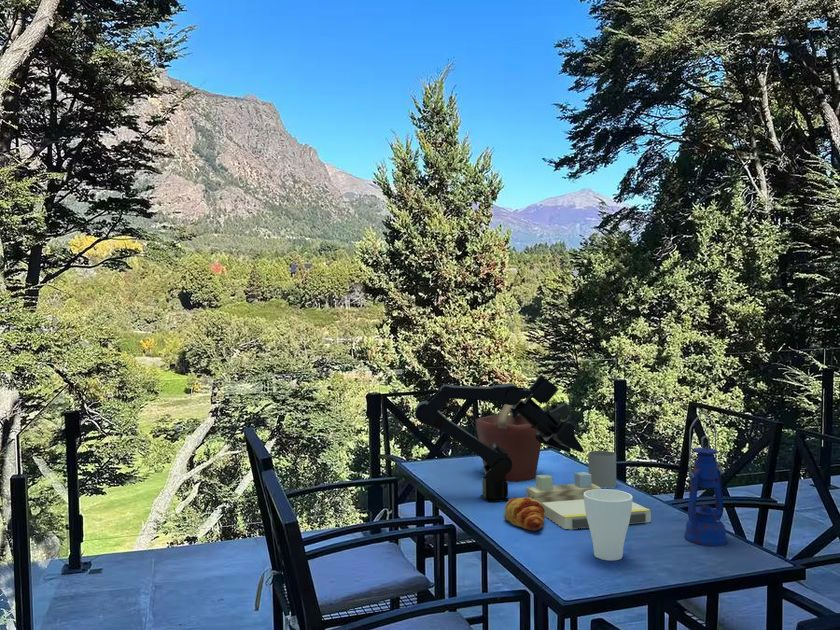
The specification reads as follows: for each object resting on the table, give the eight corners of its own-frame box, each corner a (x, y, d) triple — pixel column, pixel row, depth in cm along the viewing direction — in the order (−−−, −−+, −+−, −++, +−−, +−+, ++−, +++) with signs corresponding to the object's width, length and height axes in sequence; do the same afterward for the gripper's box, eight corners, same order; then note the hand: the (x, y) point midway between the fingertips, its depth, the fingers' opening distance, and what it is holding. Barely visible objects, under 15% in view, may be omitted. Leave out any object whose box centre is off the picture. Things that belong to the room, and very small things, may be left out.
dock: (566, 530, 167) (566, 518, 167) (541, 513, 181) (541, 502, 181) (652, 523, 173) (652, 510, 173) (621, 507, 187) (621, 495, 187)
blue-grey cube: (580, 488, 190) (580, 475, 190) (574, 485, 193) (574, 472, 193) (591, 487, 191) (591, 474, 191) (585, 484, 194) (585, 471, 194)
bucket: (501, 464, 241) (501, 394, 241) (559, 473, 228) (559, 398, 228) (465, 478, 221) (465, 402, 221) (526, 488, 208) (526, 407, 208)
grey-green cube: (541, 490, 187) (541, 478, 187) (536, 487, 190) (536, 475, 190) (552, 490, 188) (552, 477, 188) (547, 487, 191) (547, 474, 191)
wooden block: (535, 510, 185) (535, 492, 185) (526, 504, 191) (526, 487, 191) (601, 505, 190) (601, 487, 190) (590, 500, 196) (590, 482, 196)
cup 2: (604, 567, 143) (604, 503, 143) (574, 551, 152) (573, 491, 152) (643, 560, 147) (643, 498, 147) (611, 545, 156) (611, 486, 156)
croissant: (502, 523, 184) (488, 498, 184) (533, 504, 186) (519, 479, 186) (528, 548, 164) (513, 519, 163) (563, 526, 165) (548, 498, 165)
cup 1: (609, 490, 205) (609, 457, 205) (584, 486, 210) (584, 454, 210) (620, 484, 212) (620, 452, 212) (595, 480, 217) (595, 449, 217)
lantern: (707, 549, 154) (706, 417, 154) (674, 537, 162) (673, 411, 162) (738, 541, 158) (737, 413, 158) (704, 530, 167) (704, 408, 167)
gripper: (563, 392, 189) (606, 428, 189) (540, 397, 207) (579, 430, 207) (540, 422, 186) (583, 460, 186) (519, 425, 204) (558, 459, 204)
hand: (576, 451), depth 196 cm, fingers open, 9 cm apart
